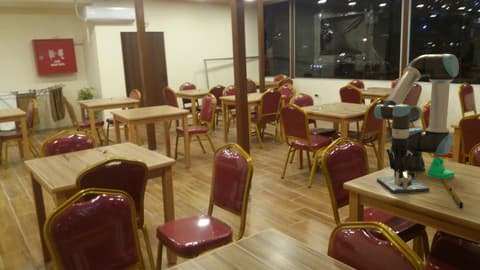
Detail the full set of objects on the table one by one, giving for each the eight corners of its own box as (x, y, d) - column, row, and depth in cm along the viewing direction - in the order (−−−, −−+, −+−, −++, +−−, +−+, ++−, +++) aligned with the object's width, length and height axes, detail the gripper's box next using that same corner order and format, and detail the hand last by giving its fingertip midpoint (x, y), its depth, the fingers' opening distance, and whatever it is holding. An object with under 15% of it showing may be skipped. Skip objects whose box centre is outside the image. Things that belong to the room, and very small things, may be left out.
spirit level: (441, 183, 202) (441, 178, 201) (444, 183, 201) (444, 178, 201) (459, 208, 170) (459, 202, 169) (462, 209, 170) (463, 202, 169)
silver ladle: (394, 177, 205) (394, 166, 204) (410, 178, 203) (411, 167, 201) (396, 189, 189) (397, 177, 188) (414, 190, 187) (415, 177, 186)
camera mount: (439, 181, 205) (440, 162, 203) (427, 177, 212) (428, 158, 210) (455, 176, 210) (456, 158, 208) (442, 173, 217) (443, 155, 215)
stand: (411, 178, 210) (411, 169, 209) (431, 191, 190) (432, 181, 189) (376, 181, 209) (376, 172, 208) (393, 194, 189) (393, 184, 188)
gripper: (383, 136, 190) (381, 182, 195) (408, 140, 180) (406, 189, 185) (392, 134, 195) (390, 179, 199) (417, 137, 184) (414, 185, 189)
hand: (398, 183), depth 192 cm, fingers closed
